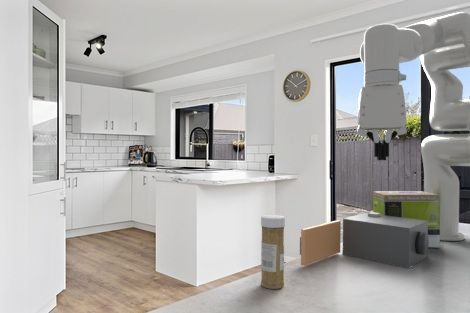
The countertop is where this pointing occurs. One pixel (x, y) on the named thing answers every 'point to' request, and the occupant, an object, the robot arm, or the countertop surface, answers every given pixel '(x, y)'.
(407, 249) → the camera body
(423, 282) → the countertop surface
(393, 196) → the tea box
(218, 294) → the countertop surface
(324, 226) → the door
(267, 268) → the sprinkles bottle
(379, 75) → the robot arm
